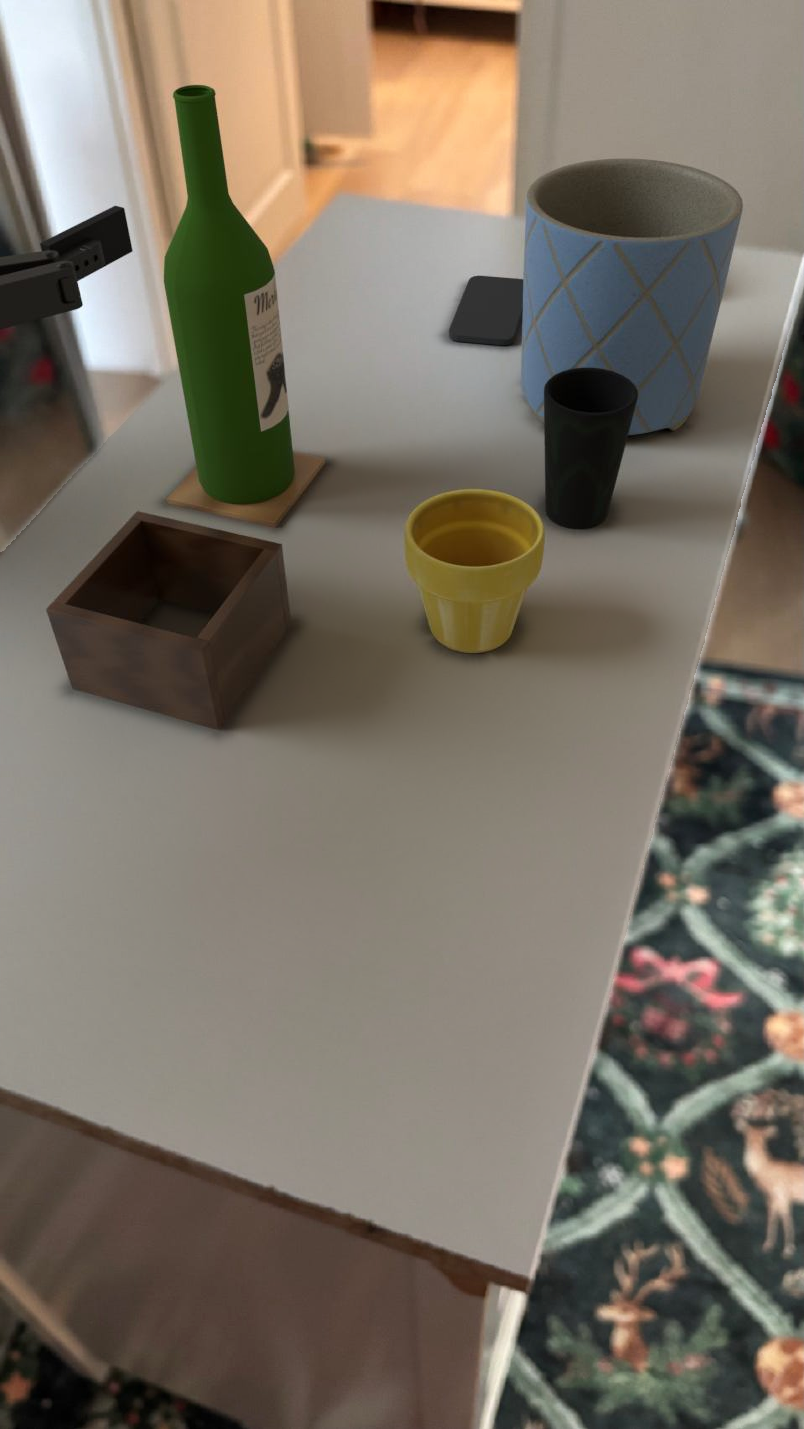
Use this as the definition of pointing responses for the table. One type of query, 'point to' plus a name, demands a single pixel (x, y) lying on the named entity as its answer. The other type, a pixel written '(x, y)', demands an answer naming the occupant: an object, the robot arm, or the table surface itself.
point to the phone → (489, 311)
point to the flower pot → (473, 564)
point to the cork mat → (260, 513)
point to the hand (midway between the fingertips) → (46, 207)
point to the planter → (626, 279)
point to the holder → (162, 663)
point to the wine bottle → (225, 324)
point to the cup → (584, 443)
